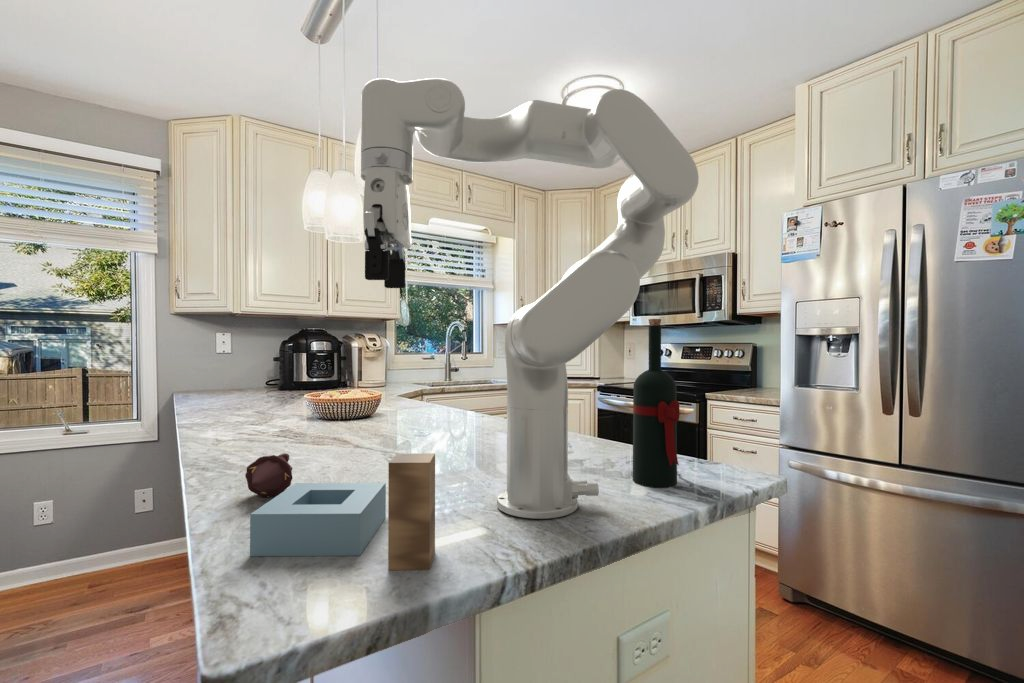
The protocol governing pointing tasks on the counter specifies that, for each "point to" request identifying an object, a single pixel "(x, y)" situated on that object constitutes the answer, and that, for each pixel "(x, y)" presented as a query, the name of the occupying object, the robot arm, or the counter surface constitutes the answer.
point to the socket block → (318, 520)
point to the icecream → (269, 475)
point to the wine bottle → (655, 420)
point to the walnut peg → (411, 511)
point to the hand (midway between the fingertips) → (386, 284)
